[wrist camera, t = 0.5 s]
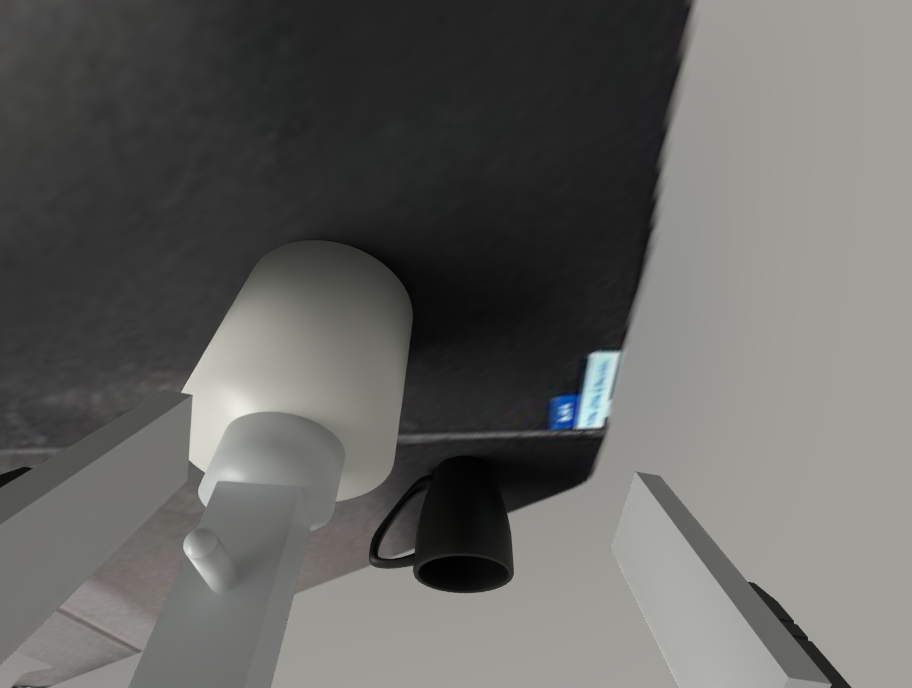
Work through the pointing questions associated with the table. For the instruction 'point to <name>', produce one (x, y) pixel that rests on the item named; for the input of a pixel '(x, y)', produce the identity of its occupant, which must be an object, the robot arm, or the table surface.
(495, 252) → the table surface
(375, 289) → the bottle
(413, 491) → the mug
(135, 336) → the table surface
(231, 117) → the table surface
